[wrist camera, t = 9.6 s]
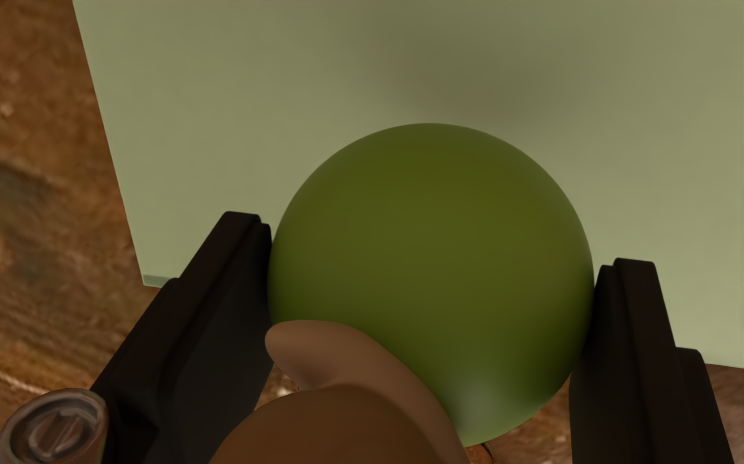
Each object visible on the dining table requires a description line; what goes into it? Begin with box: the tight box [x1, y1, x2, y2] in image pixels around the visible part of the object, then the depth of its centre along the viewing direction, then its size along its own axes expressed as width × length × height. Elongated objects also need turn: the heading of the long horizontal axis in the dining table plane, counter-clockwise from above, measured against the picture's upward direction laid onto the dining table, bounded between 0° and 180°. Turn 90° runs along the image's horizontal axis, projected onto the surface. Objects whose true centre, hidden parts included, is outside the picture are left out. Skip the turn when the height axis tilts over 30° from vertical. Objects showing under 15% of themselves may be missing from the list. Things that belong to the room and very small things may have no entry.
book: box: [72, 0, 744, 368], centre depth 18 cm, size 15×21×3 cm
